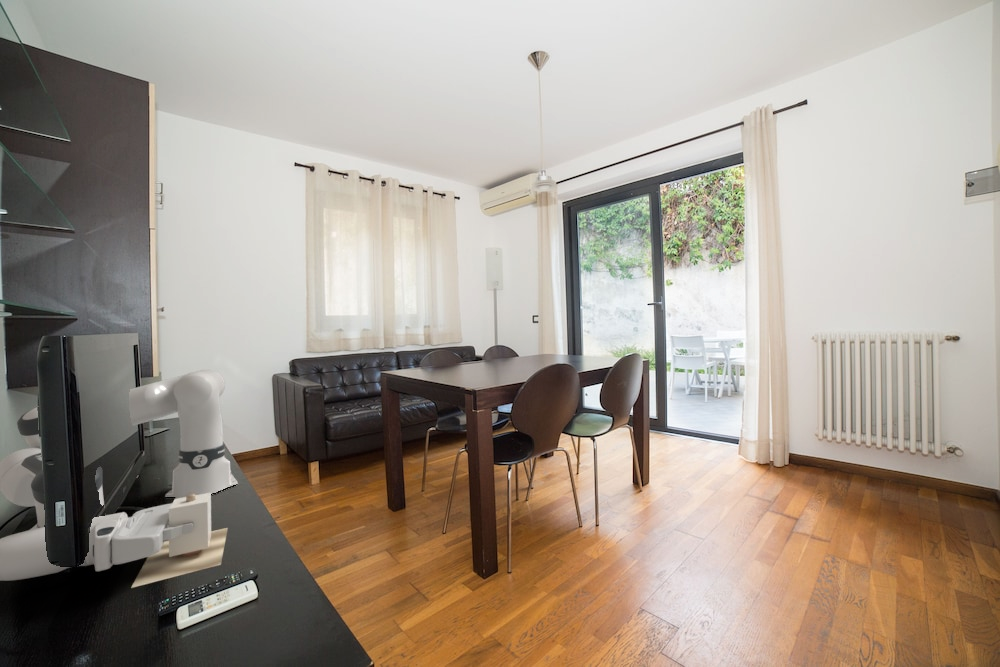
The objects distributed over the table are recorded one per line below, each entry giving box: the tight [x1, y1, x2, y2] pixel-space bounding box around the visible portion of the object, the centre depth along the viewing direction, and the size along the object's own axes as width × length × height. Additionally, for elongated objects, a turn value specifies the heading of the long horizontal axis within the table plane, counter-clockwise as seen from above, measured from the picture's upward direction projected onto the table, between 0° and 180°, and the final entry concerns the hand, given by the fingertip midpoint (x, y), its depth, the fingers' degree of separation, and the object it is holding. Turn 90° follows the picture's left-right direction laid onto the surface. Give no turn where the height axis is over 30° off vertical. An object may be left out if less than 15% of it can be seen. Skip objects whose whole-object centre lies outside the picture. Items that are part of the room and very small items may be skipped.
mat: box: [130, 527, 229, 589], centre depth 87 cm, size 20×14×1 cm
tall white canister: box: [168, 493, 212, 557], centre depth 88 cm, size 7×7×11 cm
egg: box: [181, 549, 202, 557], centre depth 88 cm, size 4×4×2 cm
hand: (196, 519), depth 88 cm, fingers closed on tall white canister, 6 cm apart
